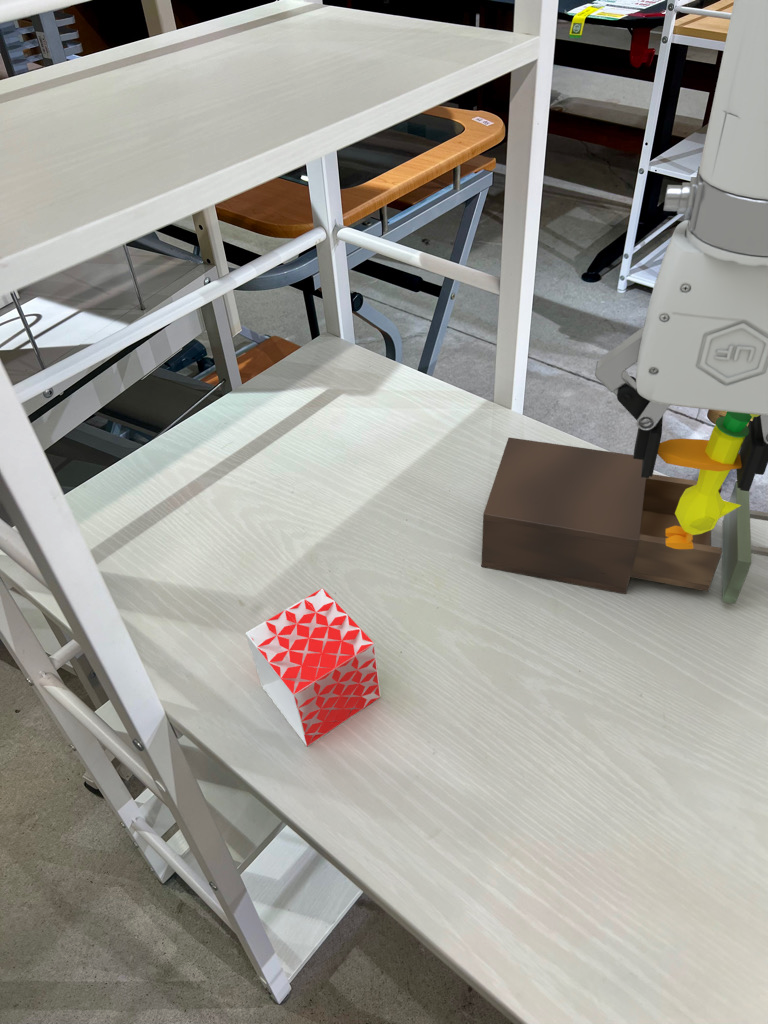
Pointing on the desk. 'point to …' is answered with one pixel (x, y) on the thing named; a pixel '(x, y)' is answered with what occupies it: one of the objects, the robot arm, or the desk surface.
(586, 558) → the cabinet
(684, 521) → the toy figure
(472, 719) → the desk surface
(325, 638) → the red patterned cube
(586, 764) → the desk surface
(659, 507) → the drawer
